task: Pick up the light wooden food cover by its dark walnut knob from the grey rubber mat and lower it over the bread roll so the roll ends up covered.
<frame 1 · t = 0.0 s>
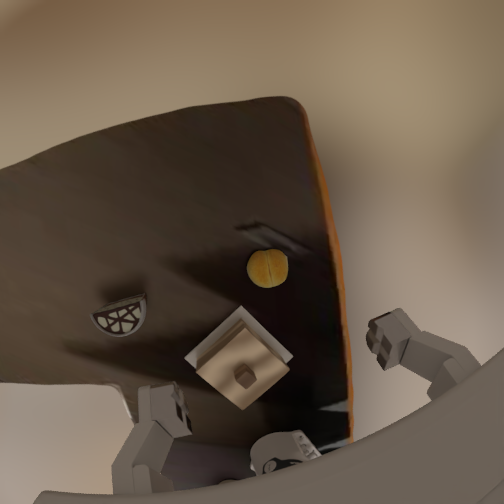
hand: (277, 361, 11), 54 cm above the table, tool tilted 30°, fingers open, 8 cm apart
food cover: (239, 358, 66), resting on rubber mat
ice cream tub: (131, 310, 63), on the table
rubber mat: (239, 357, 67), on the table
bread roll: (267, 267, 67), on the table
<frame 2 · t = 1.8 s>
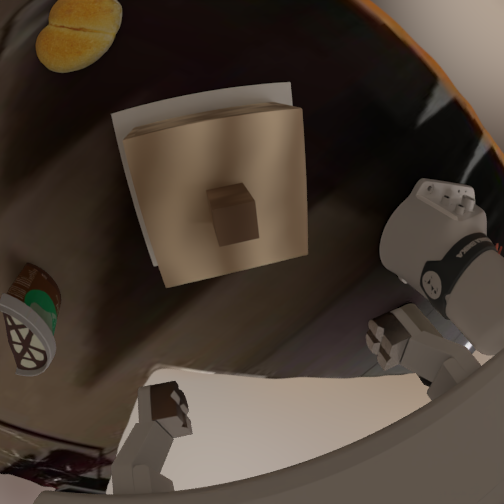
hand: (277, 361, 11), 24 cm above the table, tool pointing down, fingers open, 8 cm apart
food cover: (215, 176, 31), resting on rubber mat
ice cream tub: (49, 294, 33), on the table
rubber mat: (214, 175, 31), on the table
travel mug: (399, 317, 54), on the table
bread roll: (81, 30, 19), on the table
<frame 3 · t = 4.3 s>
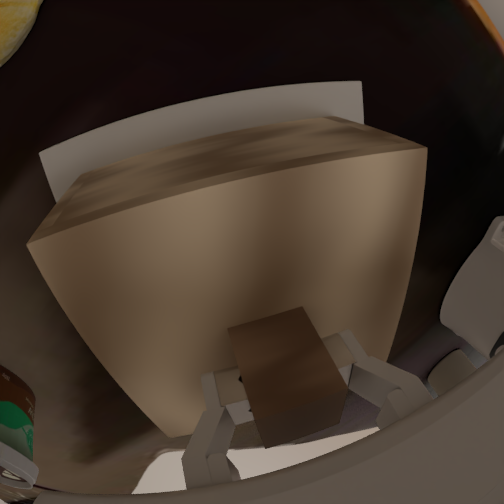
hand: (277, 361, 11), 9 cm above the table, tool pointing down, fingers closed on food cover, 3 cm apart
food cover: (233, 251, 18), point 1 cm above the table, touching gripper, rubber mat
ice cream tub: (19, 390, 21), on the table
rubber mat: (231, 246, 19), on the table
travel mug: (443, 363, 42), on the table
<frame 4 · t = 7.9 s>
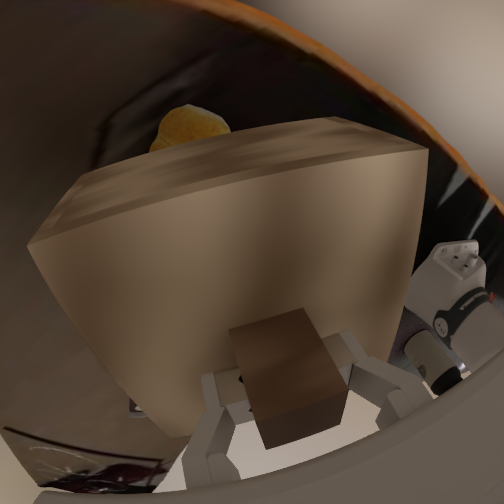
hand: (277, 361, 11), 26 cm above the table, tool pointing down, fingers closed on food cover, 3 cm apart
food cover: (234, 251, 18), point 18 cm above the table, touching gripper
travel mug: (415, 340, 65), on the table
bread roll: (189, 143, 31), on the table
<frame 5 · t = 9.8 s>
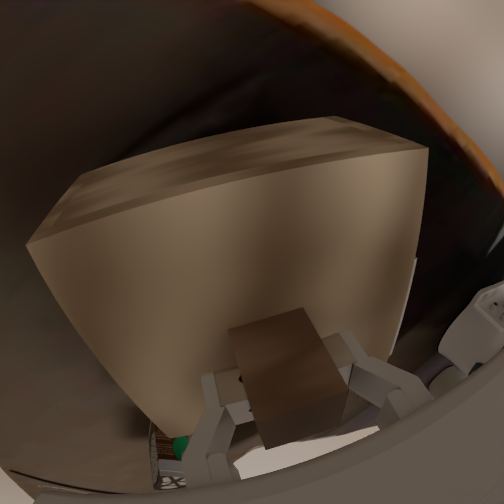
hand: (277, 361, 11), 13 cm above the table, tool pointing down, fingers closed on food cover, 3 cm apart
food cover: (233, 251, 18), point 5 cm above the table, touching gripper
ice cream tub: (170, 423, 37), on the table
travel mug: (440, 375, 57), on the table
when the fingers open (10 cm above the table, at t = 11.1 s): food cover drops 2 cm, on the table.
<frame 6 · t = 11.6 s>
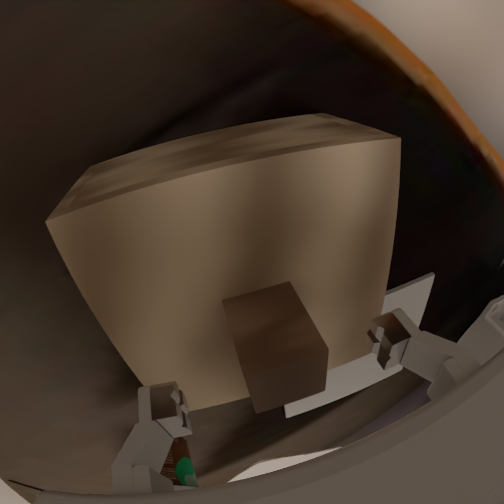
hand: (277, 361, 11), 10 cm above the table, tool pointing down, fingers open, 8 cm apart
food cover: (229, 237, 20), on the table
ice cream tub: (172, 443, 34), on the table
rubber mat: (354, 355, 32), on the table
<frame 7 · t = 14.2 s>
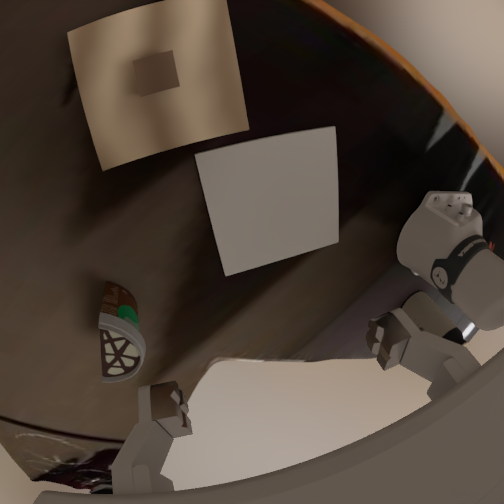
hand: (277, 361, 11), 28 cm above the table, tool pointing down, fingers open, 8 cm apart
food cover: (159, 76, 27), on the table
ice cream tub: (125, 307, 42), on the table
rubber mat: (277, 202, 40), on the table
travel mug: (412, 303, 63), on the table
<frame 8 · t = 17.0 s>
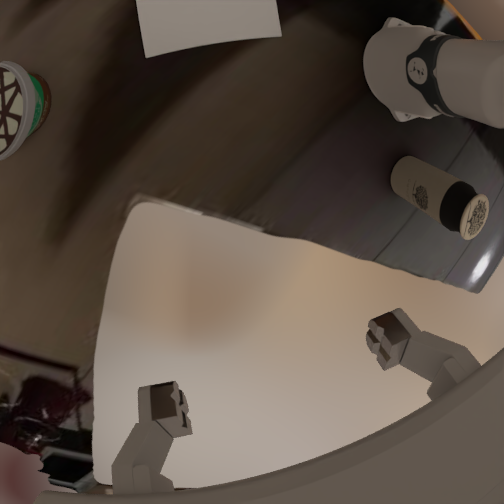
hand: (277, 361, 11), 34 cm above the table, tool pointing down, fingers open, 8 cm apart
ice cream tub: (39, 105, 29), on the table
travel mug: (404, 175, 50), on the table
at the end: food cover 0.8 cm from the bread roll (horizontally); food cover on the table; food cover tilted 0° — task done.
